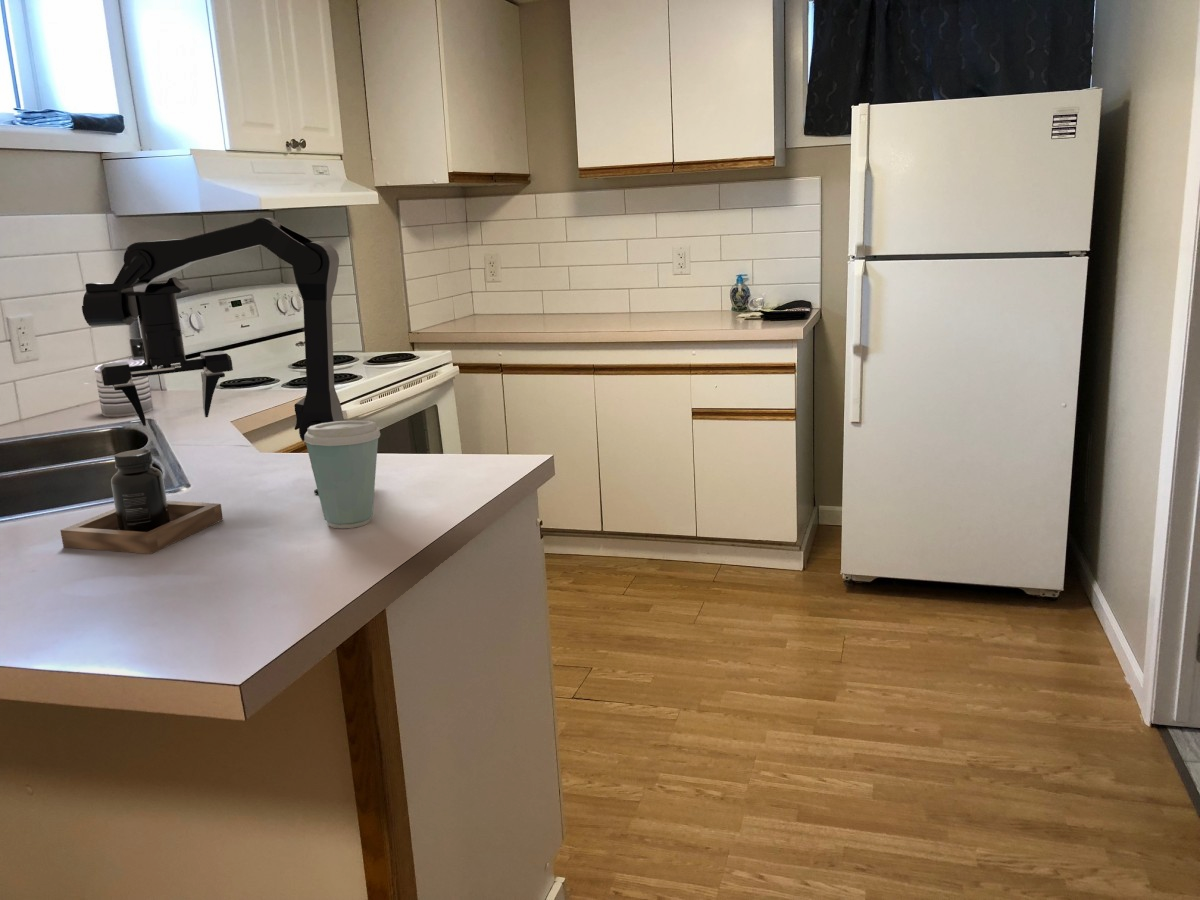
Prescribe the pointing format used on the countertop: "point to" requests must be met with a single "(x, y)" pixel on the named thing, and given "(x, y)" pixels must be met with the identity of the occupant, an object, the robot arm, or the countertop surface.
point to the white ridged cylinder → (116, 400)
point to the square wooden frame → (105, 537)
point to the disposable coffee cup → (344, 469)
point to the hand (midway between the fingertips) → (175, 421)
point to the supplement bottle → (139, 492)
